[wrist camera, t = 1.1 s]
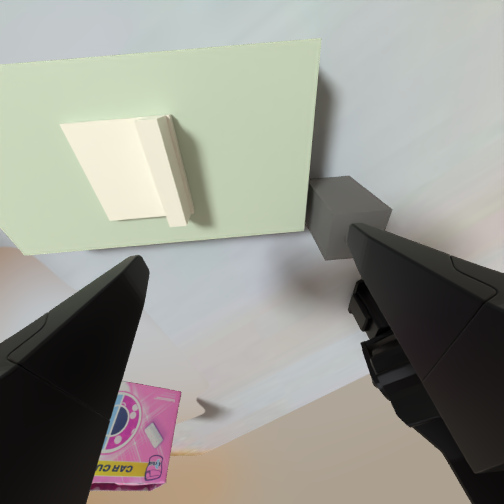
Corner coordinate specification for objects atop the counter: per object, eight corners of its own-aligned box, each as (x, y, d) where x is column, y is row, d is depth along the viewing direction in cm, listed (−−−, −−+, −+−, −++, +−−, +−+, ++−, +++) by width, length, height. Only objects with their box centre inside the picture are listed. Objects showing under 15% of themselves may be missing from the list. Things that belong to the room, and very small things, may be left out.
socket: (302, 48, 15) (321, 38, 12) (294, 210, 22) (303, 231, 19) (-54, 78, 15) (-135, 75, 11) (55, 231, 22) (24, 255, 19)
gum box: (44, 384, 41) (-24, 491, 30) (49, 366, 37) (-28, 480, 26) (169, 403, 50) (150, 491, 39) (183, 390, 46) (166, 483, 35)
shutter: (170, 114, 13) (160, 118, 11) (194, 210, 17) (189, 225, 15) (64, 123, 13) (36, 129, 11) (112, 217, 17) (97, 233, 15)
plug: (349, 175, 20) (411, 224, 13) (341, 214, 23) (390, 273, 16) (306, 179, 20) (345, 229, 13) (303, 217, 23) (334, 278, 16)
